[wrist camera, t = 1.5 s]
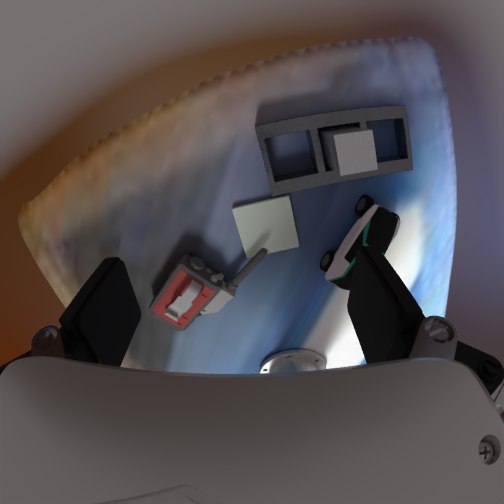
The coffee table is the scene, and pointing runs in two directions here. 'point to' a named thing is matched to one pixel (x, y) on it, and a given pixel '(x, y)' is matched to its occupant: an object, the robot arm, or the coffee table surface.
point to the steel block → (348, 149)
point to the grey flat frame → (320, 172)
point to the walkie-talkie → (195, 291)
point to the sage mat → (266, 225)
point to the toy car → (360, 240)
